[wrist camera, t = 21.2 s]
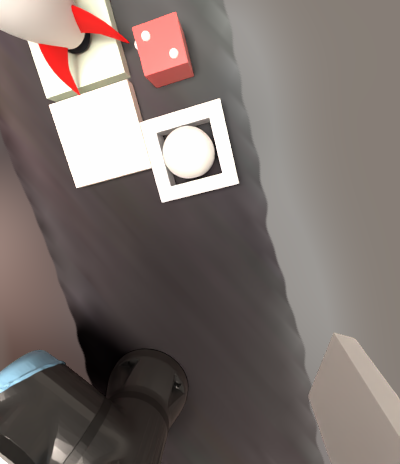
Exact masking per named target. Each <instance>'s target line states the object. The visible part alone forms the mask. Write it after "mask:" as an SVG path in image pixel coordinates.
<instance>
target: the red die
mask: <svg viewBox="0 0 400 464" xmlns="http://www.w3.org/2000/svg"><path fill="white" fill-rule="evenodd" d="M132 29H133V33H134V37H135V48H136V49H138V52H139V56H140V59H141V63H142V67H143V71H144V74H145V77H146V78H147V79H148V80H149V81H150V82H151V83H152V84H153V85H154V86H155V87H156V88H159V87H162V86H165V85H168V84H171V83H174V82H177V81H181V80H184V79H187V78H190V77H193V76H194V74H193V69H192V65H191V61H190V57H189V53H188V48H187V44H186V40H185V36H184V32H183V29H182V27H181V24H180V22H179V19H178V16H177V14H176V12H174V13H171V14H168V15H166V16H163V17H160V18H157V19H154V20H152V21H149V22H146V23H143V24H141V25H138V26H135V27H132Z"/></svg>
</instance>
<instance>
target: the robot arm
mask: <svg viewBox="0 0 400 464" xmlns="http://www.w3.org/2000/svg"><path fill="white" fill-rule="evenodd" d="M187 392H188V383H187V378H186V375H185V373H184V371H183V370H182V368H181V367H180V365H179V364H178V363H177V362H176V361H175V360H174V359H172V358H171V357H169V356H168V355H166V354H164V353H162V352H159V351H155V350H150V349H140V350H135V351H132V352H129V353H127V354H126V355H124V356H123V357H122V358H121V359H120V360H119V361H118V362H117V364H116V365H115V367H114V369H113V370H112V372H111V375H110V377H109V381H108V388H107V394H106V397H105V396H104V395H103V394H102V393H101V392H99V391H98V390H97V389H96V388H94V387H93V386H92V385H91V384H89V383H88V382H87V381H85V380H84V379H83V378H82V377H80V376H79V375H78V374H77V373H75V372H74V371H73V370H72V369H70V368H69V367H68V366H66V363H65V362H63V361H59V360H58V359H56V358H55V357H53V356H52V355H50V354H49V353H48V352H46V351H43V350H35V351H32V352H29V353H27V354H25V355H24V356H22V357H20V358H19V359H17V360H16V361H14V362H13V363H11V364H10V365H8V366H7V367H6V368H5V369H3V370H2V371H1V372H0V464H161V459H162V455H163V451H164V447H165V443H166V439H167V434H168V430H169V428H170V427H171V425H172V424H173V423H174V421H175V420H176V418H177V417H178V415H179V414H180V412H181V411H182V409H183V407H184V404H185V401H186V397H187ZM308 397H309V400H310V403H311V406H312V409H313V412H314V415H315V418H316V421H317V424H318V427H319V430H320V432H321V436H322V438H323V442H324V444H325V447H326V450H327V453H328V456H329V459H330V462H331V464H400V399H399V398H398V396H397V395H396V393H395V392H394V391H393V390H392V388H391V387H390V385H389V384H388V382H387V381H386V380H385V378H384V377H383V376H382V374H381V373H380V372H379V370H378V369H377V368H376V366H375V365H374V363H373V362H372V361H371V359H370V358H369V357H368V355H367V354H366V352H365V351H364V350H363V349H362V347H361V346H360V344H359V343H358V342H357V340H356V339H355V338H352V337H348V336H345V335H341V334H337V333H333V335H332V338H331V340H330V343H329V345H328V348H327V350H326V353H325V355H324V358H323V360H322V363H321V365H320V368H319V370H318V373H317V375H316V378H315V380H314V383H313V385H312V388H311V390H310V393H309V395H308Z"/></svg>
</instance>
